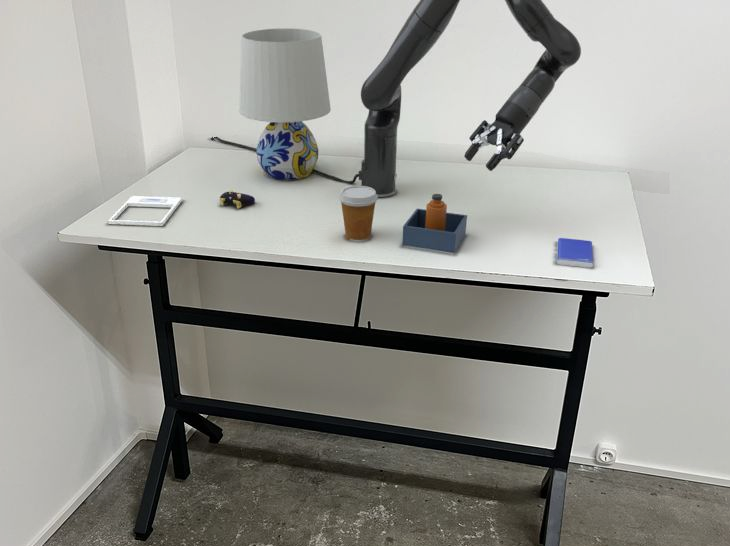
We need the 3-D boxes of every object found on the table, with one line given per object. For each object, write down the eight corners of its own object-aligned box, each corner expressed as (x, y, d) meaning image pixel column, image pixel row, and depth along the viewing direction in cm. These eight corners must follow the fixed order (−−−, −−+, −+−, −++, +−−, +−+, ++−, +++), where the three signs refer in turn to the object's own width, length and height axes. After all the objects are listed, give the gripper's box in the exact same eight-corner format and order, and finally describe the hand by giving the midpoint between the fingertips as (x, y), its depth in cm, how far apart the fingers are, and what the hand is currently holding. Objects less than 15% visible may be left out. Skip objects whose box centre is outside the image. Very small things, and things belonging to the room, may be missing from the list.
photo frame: (181, 197, 202) (161, 221, 187) (182, 200, 202) (162, 225, 187) (131, 195, 203) (107, 220, 188) (132, 199, 203) (108, 223, 188)
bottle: (422, 241, 178) (424, 197, 172) (427, 233, 182) (430, 190, 176) (441, 244, 177) (444, 200, 170) (446, 236, 180) (449, 193, 174)
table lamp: (283, 153, 238) (276, 24, 217) (349, 169, 225) (348, 32, 203) (226, 176, 220) (212, 36, 198) (294, 194, 207) (286, 47, 185)
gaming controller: (257, 198, 201) (248, 189, 196) (251, 216, 200) (241, 207, 195) (228, 193, 205) (218, 184, 199) (222, 210, 204) (212, 201, 198)
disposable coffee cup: (348, 247, 177) (348, 201, 170) (333, 232, 184) (333, 188, 177) (383, 240, 180) (384, 195, 173) (367, 226, 187) (367, 182, 181)
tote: (402, 247, 177) (403, 226, 174) (415, 228, 186) (416, 208, 183) (454, 255, 173) (455, 233, 170) (465, 235, 182) (467, 215, 179)
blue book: (593, 262, 166) (592, 240, 176) (557, 258, 168) (558, 237, 178) (592, 268, 167) (591, 246, 177) (556, 264, 169) (557, 243, 179)
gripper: (492, 93, 176) (452, 147, 178) (531, 106, 166) (488, 163, 167) (507, 112, 181) (467, 164, 183) (545, 126, 171) (503, 181, 172)
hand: (477, 163), depth 175 cm, fingers open, 8 cm apart
